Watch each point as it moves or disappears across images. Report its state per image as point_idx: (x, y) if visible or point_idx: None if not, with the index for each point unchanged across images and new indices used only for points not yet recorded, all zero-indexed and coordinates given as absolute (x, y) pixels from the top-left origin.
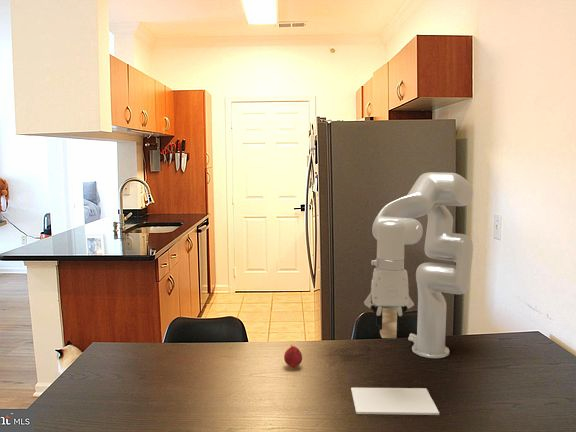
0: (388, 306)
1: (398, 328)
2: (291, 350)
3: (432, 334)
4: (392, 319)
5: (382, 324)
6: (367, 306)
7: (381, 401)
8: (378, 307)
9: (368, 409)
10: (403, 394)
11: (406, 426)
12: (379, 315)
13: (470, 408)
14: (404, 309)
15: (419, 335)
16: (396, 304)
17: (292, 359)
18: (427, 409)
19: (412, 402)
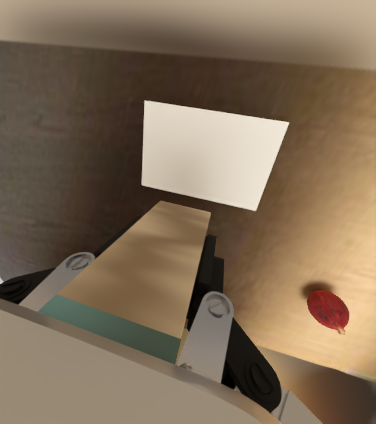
0: (118, 342)
1: (136, 218)
2: (344, 319)
3: None
4: (142, 245)
5: (203, 242)
6: (315, 419)
7: (225, 155)
8: (215, 366)
9: (261, 128)
10: (180, 172)
11: (214, 61)
12: (211, 292)
13: (96, 118)
14: (27, 283)
15: None
16: (2, 333)
17: (337, 300)
18: (159, 115)
19: (175, 143)
